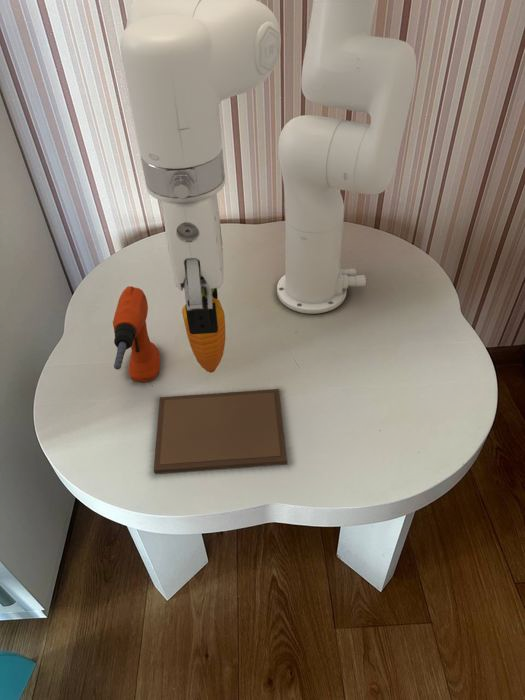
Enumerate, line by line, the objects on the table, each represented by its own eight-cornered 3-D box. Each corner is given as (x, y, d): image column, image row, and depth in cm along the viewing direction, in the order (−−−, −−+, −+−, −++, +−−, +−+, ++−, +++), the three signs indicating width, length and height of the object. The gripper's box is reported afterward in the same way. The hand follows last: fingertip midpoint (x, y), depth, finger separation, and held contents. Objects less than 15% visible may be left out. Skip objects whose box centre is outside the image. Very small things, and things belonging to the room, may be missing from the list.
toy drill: (116, 435, 79) (92, 351, 70) (133, 354, 94) (115, 275, 85) (151, 433, 79) (132, 348, 70) (162, 352, 94) (148, 273, 85)
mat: (278, 392, 86) (278, 388, 85) (286, 464, 77) (286, 460, 76) (160, 400, 86) (159, 396, 85) (154, 473, 76) (153, 469, 76)
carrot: (233, 358, 74) (224, 265, 63) (227, 387, 70) (217, 293, 60) (195, 357, 74) (180, 264, 64) (188, 385, 71) (171, 291, 60)
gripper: (225, 214, 47) (239, 365, 60) (222, 128, 59) (234, 269, 72) (135, 220, 47) (168, 370, 60) (151, 133, 59) (175, 273, 72)
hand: (204, 314), depth 66 cm, fingers closed on carrot, 4 cm apart
